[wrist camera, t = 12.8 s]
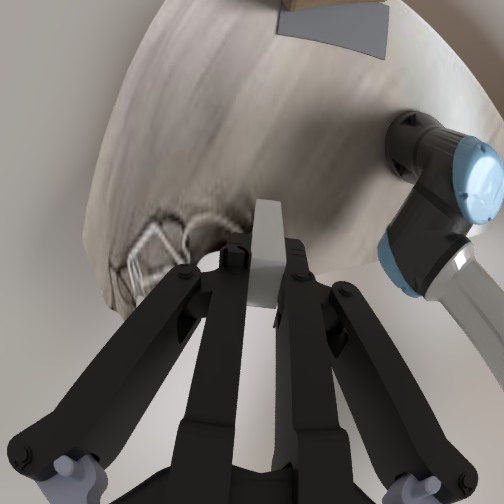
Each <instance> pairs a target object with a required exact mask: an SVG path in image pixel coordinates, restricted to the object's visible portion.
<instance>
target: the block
mask: <svg viewBox="0 0 504 504" xmlns="http://www.w3.org/2000/svg"><path fill="white" fill-rule="evenodd" d="M385 1H386V0H283V2H284V4H285V6H286V8H287V9H288V10H289V11H298V10H303V9H309V8H315V7H322V6H330V5H338V4H349V3H366V2H385Z"/></svg>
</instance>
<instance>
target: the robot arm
mask: <svg viewBox="0 0 504 504" xmlns="http://www.w3.org/2000/svg"><path fill="white" fill-rule="evenodd" d="M385 152H386V157H387V160H388V163H389V165H390V167H391V168H392V170H393V171H394V172H395V173H396V174H397V175H398V176H399V177H400V178H402V179H403V180H404V181H406V182H408V183H410V184H414V187H413V188H412V190H411V192H410V193H409V195H408V197H407V198H406V200H405V201H404V203H403V205H402V206H401V208H400V209H399V211H398V212H397V214H396V216H395V217H394V219H393V220H392V222H391V223H390V224H389V225H388V226H387V228H386V231H385V233H384V235H383V236H382V238H381V240H380V241H379V243H378V247H377V250H378V252H377V254H378V258H379V261H380V263H381V266H382V267H383V269H384V271H385V272H386V274H387V275H388V277H389V278H390V279H391V281H392V282H393V283H394V284H395V285H396V286H397V287H398V288H401V289H402V291H403V292H404V293H405V294H406V295H408V296H410V297H413V298H417V297H420V296H423V297H424V299H425V300H426V301H438V302H441V304H442V305H443V306H444V307H445V309H446V310H447V311H448V312H449V314H450V315H451V316H452V317H453V318H454V320H455V321H456V322H457V324H458V325H459V326H460V328H461V329H462V330H463V331H464V333H465V334H466V336H467V337H468V338H469V339H470V341H471V342H472V344H473V345H474V347H475V348H476V349H477V351H478V352H479V354H480V355H481V357H482V358H483V359H484V361H485V362H486V364H487V365H488V367H489V368H490V370H491V372H492V373H493V374H494V376H495V378H496V379H497V381H498V383H499V384H500V386H501V388H502V389H503V391H504V291H503V290H502V289H501V287H500V286H499V285H498V284H497V283H496V282H495V280H494V279H493V278H492V277H491V276H490V275H489V274H488V273H487V271H486V270H485V269H484V268H483V267H482V266H481V265H480V264H479V263H478V262H477V261H476V259H475V254H474V244H473V243H472V242H471V241H470V240H469V239H468V238H467V237H466V235H467V233H468V232H469V230H470V229H471V227H472V225H473V224H475V225H476V224H477V225H483V224H486V223H487V220H488V221H491V220H492V219H493V218H494V217H495V216H496V214H497V213H498V211H499V209H500V207H501V205H502V202H503V199H504V167H503V163H502V161H501V159H500V157H499V155H498V154H497V152H496V151H495V150H494V149H493V148H492V147H491V146H490V145H488V144H486V143H484V142H482V141H481V140H479V139H478V138H476V137H474V136H469V135H466V134H463V133H460V132H457V131H454V130H450V129H447V128H445V127H444V126H443V125H442V124H441V123H440V122H439V121H438V120H437V119H435V118H434V117H432V116H430V115H428V114H426V113H422V112H416V111H412V112H407V113H404V114H402V115H400V116H399V117H397V118H396V119H395V120H394V121H393V123H392V124H391V126H390V127H389V129H388V132H387V135H386V140H385ZM277 305H278V309H277V313H276V317H275V322H274V325H273V328H275V327H276V403H275V405H276V407H275V451H274V455H273V459H272V467H271V468H272V469H271V472H266V473H257V472H254V471H250V470H247V469H244V468H241V467H237V466H234V465H232V458H233V447H234V436H235V419H236V409H237V399H238V387H239V377H240V368H241V357H242V347H243V336H244V326H245V315H246V306H254V307H263V308H272V309H276V306H277ZM206 317H207V318H206ZM201 318H206V322H205V326H204V330H203V334H202V339H201V343H200V347H199V352H198V356H197V361H196V365H195V370H194V374H193V379H192V383H191V388H190V392H189V397H188V402H187V407H186V411H185V415H184V418H183V419H182V420H181V422H180V424H179V427H178V431H177V436H176V441H175V446H174V451H173V456H172V461H171V466H170V467H167V468H164V469H162V470H160V471H158V472H156V473H155V474H154V475H152V476H151V477H149V478H148V479H146V480H145V481H144V482H142V483H141V484H139V485H138V486H136V487H135V488H133V489H132V490H130V491H129V492H127V493H126V494H124V495H123V496H121V497H119V498H118V499H116V500H114V501H113V502H111V503H110V504H376V503H375V502H374V501H372V500H371V499H370V498H369V497H368V496H367V495H366V494H365V493H364V492H363V491H362V490H361V489H360V488H359V487H358V486H357V485H356V484H355V483H354V482H353V473H352V461H351V452H350V442H349V437H348V434H347V432H346V430H344V429H343V428H341V427H340V425H339V421H338V412H337V404H336V397H335V389H334V382H333V375H332V369H333V371H334V373H335V376H336V378H337V380H338V383H339V385H340V387H341V390H342V392H343V394H344V397H345V399H346V402H347V404H348V406H349V409H350V411H351V413H352V416H353V418H354V421H355V423H356V426H357V428H358V431H359V433H360V435H361V438H362V440H363V443H364V445H365V448H366V450H367V453H368V455H369V458H370V460H371V463H372V465H373V467H374V470H375V472H376V474H377V476H378V478H379V479H380V481H381V483H382V484H383V486H384V487H385V488H386V489H387V490H388V491H387V493H386V494H385V495H384V497H383V499H382V503H383V504H452V503H455V502H457V501H460V500H463V499H465V498H467V497H469V496H471V494H472V493H473V492H474V491H475V489H476V486H477V483H478V474H477V471H476V469H475V468H474V466H473V465H472V464H471V463H470V462H469V461H468V460H467V459H466V458H465V457H464V456H463V455H462V454H461V453H460V452H459V451H458V450H457V449H456V448H455V447H454V446H453V445H452V444H451V443H450V442H449V441H448V440H447V439H446V437H445V435H444V433H443V431H442V429H441V427H440V425H439V423H438V421H437V419H436V417H435V415H434V413H433V411H432V409H431V407H430V406H429V404H428V402H427V400H426V398H425V396H424V394H423V393H422V391H421V389H420V387H419V385H418V384H417V382H416V380H415V378H414V377H413V375H412V373H411V371H410V370H409V368H408V366H407V365H406V363H405V361H404V360H403V358H402V356H401V355H400V353H399V351H398V350H397V348H396V346H395V345H394V343H393V341H392V340H391V338H390V337H389V335H388V334H387V332H386V330H385V329H384V327H383V326H382V324H381V322H380V321H379V319H378V318H377V316H376V315H375V313H374V312H373V310H372V309H371V307H370V306H369V304H368V303H367V301H366V300H365V298H364V297H363V295H362V294H361V292H360V291H359V289H358V288H357V287H356V286H354V285H353V284H351V283H349V282H345V281H338V282H335V283H334V284H333V285H332V287H329V286H326V285H323V284H321V283H319V282H317V281H316V279H315V276H314V274H313V273H312V272H310V271H309V267H308V262H307V257H306V252H305V247H304V244H303V243H302V242H301V241H300V240H298V239H290V238H284V230H283V220H282V211H281V202H279V201H272V200H264V199H256V207H255V215H254V223H253V231H252V234H245V233H236V232H234V233H232V234H231V235H230V236H229V238H228V242H227V245H225V246H224V247H222V248H221V250H220V260H219V268H218V269H216V270H214V271H210V272H200V269H199V268H198V267H197V266H194V265H192V264H180V265H177V266H175V267H173V268H172V269H171V270H170V271H169V272H168V273H167V274H166V276H165V277H164V278H163V279H162V280H161V281H160V282H159V283H158V284H157V285H156V287H155V288H154V289H153V290H152V291H151V292H150V293H149V294H148V296H147V297H146V298H145V299H144V300H143V301H142V302H141V304H140V305H139V306H138V307H137V308H136V309H135V310H134V311H133V313H132V314H131V315H130V316H129V317H128V318H127V320H126V321H125V322H124V323H123V324H122V325H121V327H120V328H119V329H118V330H117V331H116V333H115V334H114V335H113V336H112V337H111V339H110V340H109V341H108V342H107V343H106V345H105V346H104V347H103V348H102V349H101V351H100V352H99V353H98V354H97V355H96V357H95V358H94V359H93V360H92V362H91V363H90V364H89V365H88V367H87V368H86V369H85V371H84V372H83V373H82V374H81V376H80V377H79V378H78V379H77V381H76V382H75V383H74V385H73V386H72V387H71V388H70V390H69V391H68V392H67V394H66V395H65V396H64V398H63V399H62V400H61V402H60V403H59V404H58V406H57V407H56V408H55V410H54V411H53V412H51V413H50V414H48V415H47V416H45V417H44V418H42V419H40V420H39V421H37V422H36V423H35V424H33V425H31V426H30V427H28V428H26V429H25V430H23V431H22V432H20V433H19V434H17V435H16V436H14V437H13V438H12V439H11V440H10V441H9V444H8V447H7V456H8V458H9V462H10V464H11V465H12V466H13V468H14V469H15V470H16V471H17V472H19V473H20V474H22V475H24V476H26V477H29V478H31V479H33V480H34V481H35V482H36V483H37V484H38V486H39V488H40V489H41V491H42V492H43V494H44V495H45V497H46V498H47V500H48V501H49V502H50V504H100V498H101V495H102V494H103V493H104V491H105V490H106V488H107V485H108V478H107V475H106V472H105V471H104V470H105V469H106V468H107V467H108V466H109V465H110V464H111V463H112V462H113V461H114V460H115V459H116V457H117V456H118V455H119V453H120V452H121V450H122V449H123V447H124V446H125V444H126V442H127V440H128V439H129V437H130V436H131V434H132V432H133V431H134V429H135V427H136V426H137V424H138V422H139V421H140V419H141V417H142V416H143V414H144V413H145V411H146V409H147V408H148V406H149V404H150V403H151V401H152V399H153V398H154V396H155V395H156V393H157V391H158V390H159V388H160V386H161V385H162V383H163V381H164V380H165V378H166V376H167V375H168V373H169V371H170V370H171V368H172V367H173V365H174V363H175V362H176V360H177V359H178V357H179V355H180V354H181V352H182V351H183V349H184V347H185V346H186V344H187V342H188V341H189V339H190V338H191V336H192V334H193V333H194V331H195V329H196V328H197V326H198V324H199V323H200V321H201ZM331 367H332V368H331Z"/></svg>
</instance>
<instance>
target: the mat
mask: <svg viewBox="0 0 504 504" xmlns="http://www.w3.org/2000/svg"><path fill="white" fill-rule="evenodd" d="M388 21H389V6H387V5H384V4H382V3H379V2H366V3H349V4H338V5H330V6H322V7H315V8H309V9H303V10H298V11H289V10H288V9H287V8H286V6H285V4H284V2H283V0H282V5H281V12H280V20H279V28H278V35H284V36H291V37H297V38H303V39H308V40H314V41H318V42H323V43H327V44H332V45H336V46H340V47H344V48H347V49H351V50H354V51H358V52H361V53H364V54H368V55H371V56H374V57H377V58H380V59H382V60H385V55H386V46H387V35H388Z"/></svg>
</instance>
